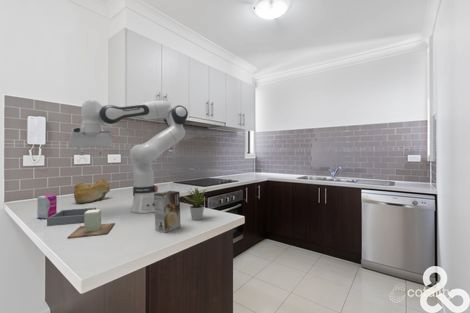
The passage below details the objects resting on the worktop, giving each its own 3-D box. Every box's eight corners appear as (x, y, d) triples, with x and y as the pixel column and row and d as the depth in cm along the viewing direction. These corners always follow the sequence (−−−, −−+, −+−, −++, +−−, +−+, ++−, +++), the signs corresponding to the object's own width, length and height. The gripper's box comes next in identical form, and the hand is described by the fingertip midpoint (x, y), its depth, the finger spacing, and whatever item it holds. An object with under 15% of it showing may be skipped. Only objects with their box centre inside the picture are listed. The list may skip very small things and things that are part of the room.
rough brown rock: (99, 197, 175) (97, 178, 175) (113, 197, 167) (111, 177, 167) (66, 205, 154) (64, 183, 154) (80, 205, 147) (77, 182, 147)
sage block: (101, 226, 100) (101, 209, 100) (98, 230, 95) (97, 211, 95) (88, 228, 98) (88, 210, 98) (84, 231, 94) (84, 213, 93)
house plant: (199, 212, 124) (199, 183, 124) (217, 217, 115) (217, 185, 115) (178, 218, 113) (177, 186, 113) (196, 224, 104) (196, 189, 104)
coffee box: (170, 224, 104) (170, 190, 104) (180, 226, 100) (180, 191, 100) (154, 230, 96) (153, 193, 96) (164, 233, 93) (163, 194, 92)
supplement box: (46, 219, 115) (45, 197, 115) (37, 218, 116) (36, 196, 116) (57, 216, 121) (56, 195, 120) (48, 215, 122) (47, 194, 122)
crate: (96, 213, 124) (96, 207, 124) (86, 222, 109) (86, 215, 109) (62, 216, 119) (62, 210, 119) (47, 225, 104) (46, 218, 104)
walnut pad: (114, 224, 105) (114, 222, 105) (107, 234, 92) (107, 232, 92) (80, 227, 101) (80, 226, 101) (67, 238, 88) (67, 237, 88)
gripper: (113, 131, 130) (113, 154, 130) (72, 130, 123) (72, 155, 124) (111, 130, 124) (111, 154, 124) (67, 129, 117) (68, 155, 118)
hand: (91, 155), depth 124 cm, fingers open, 8 cm apart
